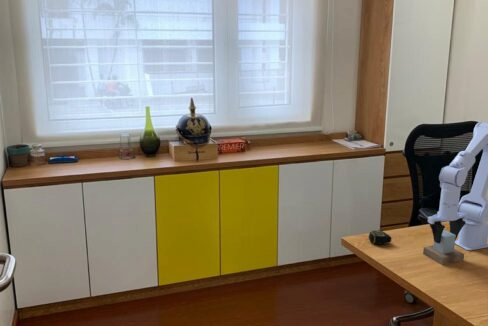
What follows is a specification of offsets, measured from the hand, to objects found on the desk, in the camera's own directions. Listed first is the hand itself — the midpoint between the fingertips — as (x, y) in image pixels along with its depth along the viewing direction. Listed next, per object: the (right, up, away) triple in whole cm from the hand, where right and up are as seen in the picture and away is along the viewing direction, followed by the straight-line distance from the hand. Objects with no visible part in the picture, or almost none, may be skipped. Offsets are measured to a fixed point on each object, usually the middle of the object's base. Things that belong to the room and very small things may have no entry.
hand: (444, 241), depth 164 cm
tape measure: (-18, -3, +14) cm, 23 cm away
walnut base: (0, -6, +2) cm, 6 cm away
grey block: (0, -3, +1) cm, 3 cm away
